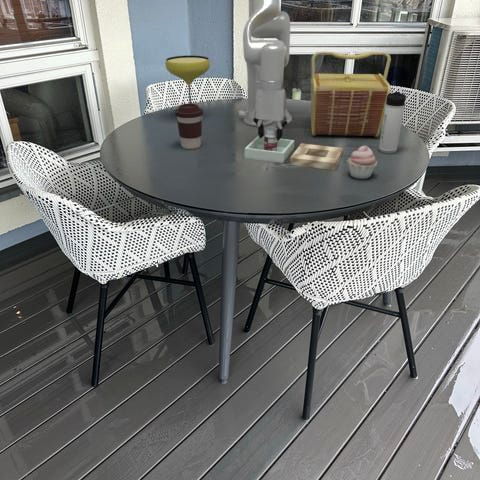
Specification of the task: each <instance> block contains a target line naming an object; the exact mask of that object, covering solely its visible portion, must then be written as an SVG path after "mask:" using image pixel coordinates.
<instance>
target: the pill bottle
mask: <svg viewBox="0 0 480 480" xmlns="http://www.w3.org/2000/svg"><path fill="white" fill-rule="evenodd" d="M277 129H278V127H273V126H268V127H266V128H265V132H264V136H263V137H264V150H268V151H276V152H277V144H278V140H277Z"/></svg>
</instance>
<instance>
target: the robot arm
mask: <svg viewBox="0 0 480 480" xmlns="http://www.w3.org/2000/svg"><path fill="white" fill-rule="evenodd" d="M252 38H253V39H254V38H255V39H258V40H252ZM259 39H260V40H259ZM266 39H267V40H266ZM268 39H269V40H268ZM270 39H272V40H270ZM290 42H291V19H290V16H289V13H287V12H286V11H282V10H281V5H280V0H248V20H247V21H246V23H245V25H244V29H243V33H242V45H243V47H242V48H243V57H244V61H245V64H246V73H247V77H246V78H247V84H246V85H247V110H239V111H238V116H239V117H244V119H243V123H244V124H245V125H248V126H252V127H257V135H258V136H259V138H262V137H264V135H265V126H270V125H272V124H273V123H274V122H276V123H277V140H280V139H283V137H284V136H283V135H284V128H285V126H286V125H288V124H289V123H290V122H291V121H293V119H294V118H293V116H292V115H291V114H290V113H289V111H288V110H287V98H286V97H287V95H286V90H285V88H284V72H285V71H284V69H285V67H286V66H287V65H288V63H289V62H290V61H289V60H290V47H291V45H290ZM285 118H286V120H284V119H285Z"/></svg>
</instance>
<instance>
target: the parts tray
mask: <svg viewBox="0 0 480 480" xmlns="http://www.w3.org/2000/svg"><path fill="white" fill-rule="evenodd" d="M294 150H295V140H294V139H285V138H281V139H280V140H278V144H277V152H276V151H268V150H264V136H263V137H262V138H259V135H258V136H257V135H256V137H254V139H253V140H252V141H250V143H249V144H247V146H246V147H245V148H244V159H247V160H248V159H249V160H256V161H264V162H273V163H277V164H284V163H285V161H286V160H287V159H288V158H289V156H290V155H292V153H293V151H294Z"/></svg>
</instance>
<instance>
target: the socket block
mask: <svg viewBox="0 0 480 480" xmlns="http://www.w3.org/2000/svg"><path fill="white" fill-rule="evenodd" d="M343 153H344V147H336V146H329V145H321V144H320V145H319V144H309V143H300V144H299V146H298V147H297V148H296V150H295V151H294V152H293V154H291V156H290V160H289V165H291V166H298V167H299V166H300V167H305V168H306V167H307V168H313V169H321V170H331V171H335V170H336V168H337V167H338V164H339V162H340V160H341V158H342V156H343Z"/></svg>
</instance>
